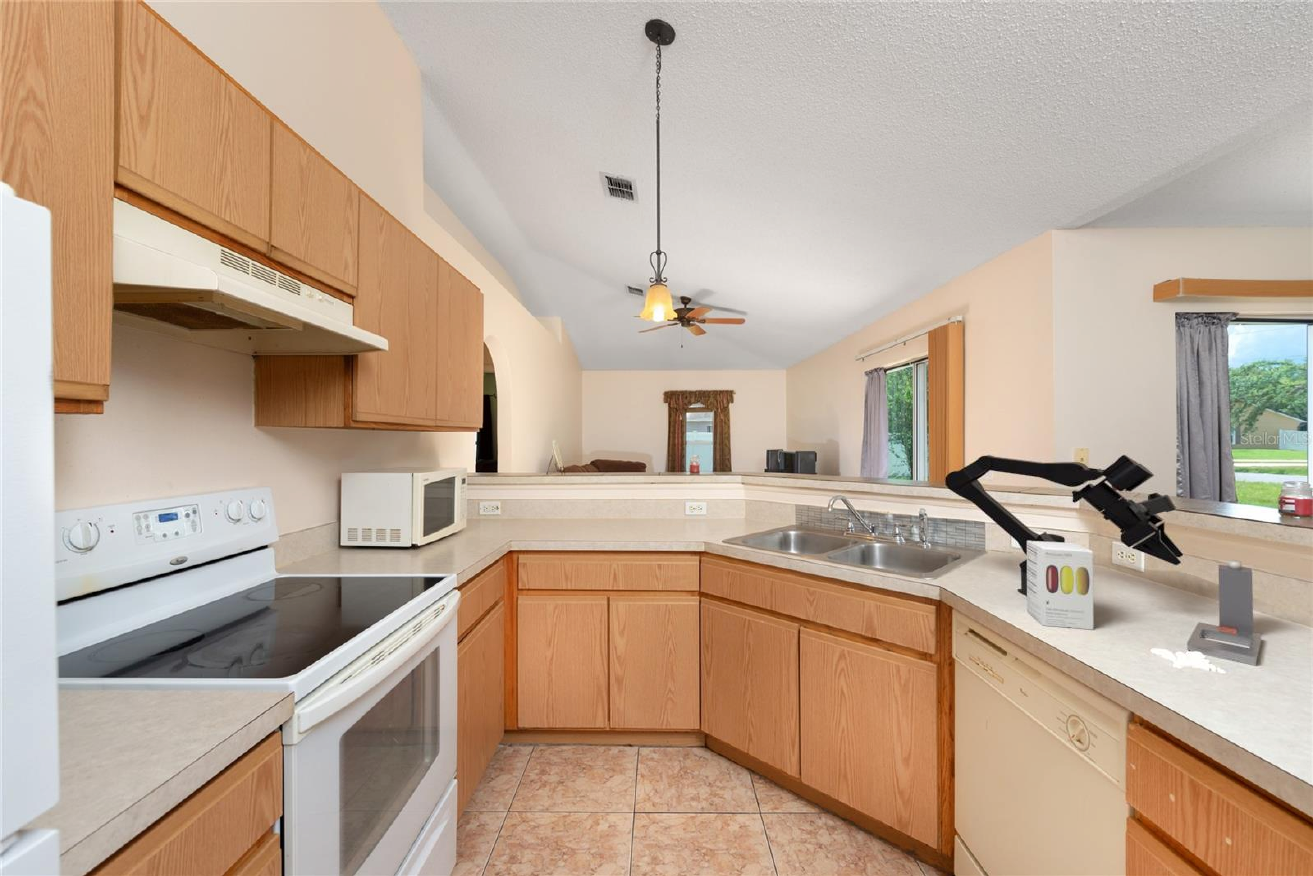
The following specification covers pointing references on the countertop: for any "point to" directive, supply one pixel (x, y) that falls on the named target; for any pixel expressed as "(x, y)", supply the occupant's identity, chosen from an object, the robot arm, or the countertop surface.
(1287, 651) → the countertop surface
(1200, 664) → the acanthus leaf ornament
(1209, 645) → the socket plate
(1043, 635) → the countertop surface
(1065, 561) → the supplement box
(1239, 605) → the plug
